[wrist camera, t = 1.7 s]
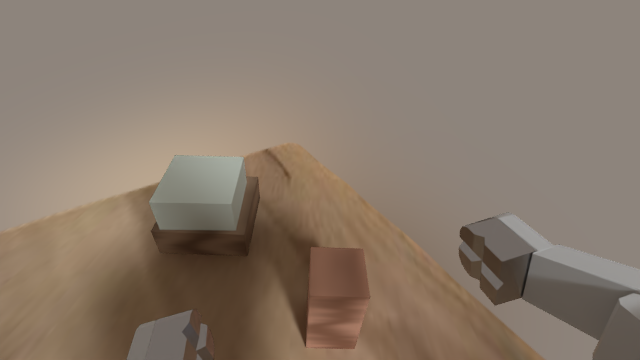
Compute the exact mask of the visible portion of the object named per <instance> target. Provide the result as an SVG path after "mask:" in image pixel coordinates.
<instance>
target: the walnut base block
mask: <svg viewBox="0 0 640 360" xmlns="http://www.w3.org/2000/svg"><path fill="white" fill-rule="evenodd" d="M246 180H247V184H246V188H245V193H244V197H243V201H242V206H241V210H240V215H239V219H238V223H237V228H236V231H229V230H160V229H159V226H158V224H157V221H156V223H155V225H154V227H153V229H152V231H151V232H152V235H153V237H154V239H155V242H156V244H157V246H158V249H159V251H160V253H181V254H208V255H236V256H247V255H248V250H249V246H250V241H251V236H252V232H253V227H254V222H255V217H256V213H257V208H258V203H259V199H260V195H259V183H258V177H246Z"/></svg>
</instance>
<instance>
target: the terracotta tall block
mask: <svg viewBox="0 0 640 360" xmlns="http://www.w3.org/2000/svg"><path fill="white" fill-rule="evenodd" d="M369 299H370V293H369V286H368V279H367V272H366V264H365V257H364V250H363V249H355V248H325V247H311V253H310V268H309V283H308V298H307V329H306V348H335V349H355V345H356V342H357V339H358V335H359V332H360V329H361V326H362V322H363V319H364V316H365V312H366V309H367V306H368V302H369Z"/></svg>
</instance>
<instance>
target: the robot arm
mask: <svg viewBox="0 0 640 360" xmlns="http://www.w3.org/2000/svg"><path fill="white" fill-rule="evenodd" d="M460 237H461V239H462V240H463V242H462V244H461V245H460V246H459V257H460V260H461V263H462V265H463V267H464V269H465V270H466V271H467V273H468V274H469V275H470V276H471V277H473V278H476V279H478V280H480V288H481V290H482V291H483V292H484V293H485V294H486V296H487V297H488V298H489V299H490V300H491V302H492V303H493V304H494V305H498V304H502V303H505V302H508V301H512V300H515V299H518V298H522V299H523V300H525V301H527V302H529V303H531V304H533V305H534V306H536V307H538V308H540V309H542V310H543V311H545V312H547V313H549V314H551V315H553V316H555V317H557V318H558V319H560V320H562V321H564V322H566V323H568V324H569V325H571V326H573V327H575V328H577V329H579V330H581V331H583V332H584V333H586V334H588V335H590V336H592V337H594V338H596V339H597V340H599V342H598V344H597V346H596V348H595V350H594V352H593V360H640V269H637V268H634V267H630V266H627V265H624V264H621V263H617V262H614V261H611V260H608V259H605V258H601V257H598V256H595V255H591V254H588V253H585V252H582V251H578V250H575V249H572V248H569V247H565V246H562V245H556V246H554V245H553V244H551V243H550V242H549V241H547V240H546V239H545V238H544V237H542V236H541V235H540V234H539V233H537V232H536V231H535V230H533V229H532V228H531V227H529V226H528V225H527V224H525V223H524V222H523V221H522V220H521V219H519V218H518V217H516V216H515V215H514V214H512V213H509V212H507V213H504V214H501V215H497V216H495V217H492V218H487V219H484V220H481V221H478V222H475V223H472V224H469V225H466V226H462V228H461V229H460ZM201 317H202V316H201V315H200V313H199V312H198V310H197V309H193V310H189V311H186V312H182V313H179V314H175V315H171V316H168V317H164V318H161V319H158V320H155V321H151V322H148V323H144V324H140V326H139V327H138V328H137V329H136V331H135V335H134V338H133V341H132V344H131V347H130V350H129V353H128V356H127V359H126V360H213V359H214V341H213V336H212V333H211V331H210V329H209V327H208V326H207V325H205V324H202V323H201Z"/></svg>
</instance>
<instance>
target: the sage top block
mask: <svg viewBox="0 0 640 360" xmlns="http://www.w3.org/2000/svg"><path fill="white" fill-rule="evenodd" d="M246 184H247V180H246V172H245V164H244V157H221V156H184V155H175V156H174V158H173V160H172V162H171V164H170V165H169V167H168V169H167V171H166V173H165V174H164V176H163V178H162V180H161V181H160V183H159V185H158V187H157V189H156V191H155V192H154V194H153V196H152V198H151V200H150V201H149V204H150V206H151V209H152V211H153V214H154V216H155V219H156V221H157V224H158V226H159V229H160V230H229V231H236V228H237V223H238V219H239V215H240V210H241V206H242V201H243V197H244V193H245V188H246Z"/></svg>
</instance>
